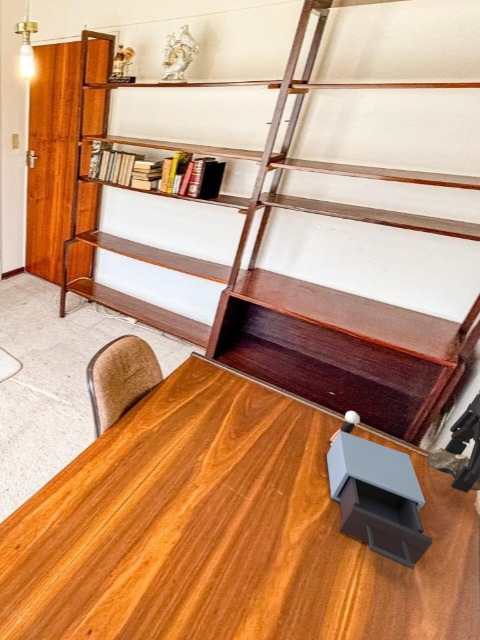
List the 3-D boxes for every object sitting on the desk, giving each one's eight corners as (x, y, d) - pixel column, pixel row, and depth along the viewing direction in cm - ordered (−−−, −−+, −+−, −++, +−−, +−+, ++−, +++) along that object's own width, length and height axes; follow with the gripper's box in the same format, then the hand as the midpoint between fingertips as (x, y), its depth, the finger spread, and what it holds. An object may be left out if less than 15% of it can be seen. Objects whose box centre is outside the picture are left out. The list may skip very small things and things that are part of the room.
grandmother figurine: (333, 435, 118) (349, 403, 113) (348, 443, 116) (366, 410, 110) (324, 448, 114) (341, 415, 108) (340, 456, 111) (358, 423, 106)
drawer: (423, 592, 80) (442, 569, 77) (342, 554, 86) (356, 532, 83) (400, 510, 96) (415, 489, 93) (333, 483, 102) (345, 462, 99)
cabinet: (406, 529, 93) (425, 502, 89) (331, 498, 99) (346, 471, 95) (392, 480, 105) (408, 454, 101) (326, 455, 112) (339, 430, 107)
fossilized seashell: (499, 485, 91) (449, 455, 101) (494, 466, 89) (444, 437, 99) (469, 501, 91) (423, 470, 101) (464, 482, 90) (417, 452, 99)
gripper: (552, 442, 77) (491, 518, 86) (505, 382, 93) (458, 451, 103) (498, 426, 80) (445, 501, 90) (461, 371, 97) (420, 439, 106)
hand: (452, 474), depth 96 cm, fingers closed on fossilized seashell, 8 cm apart
